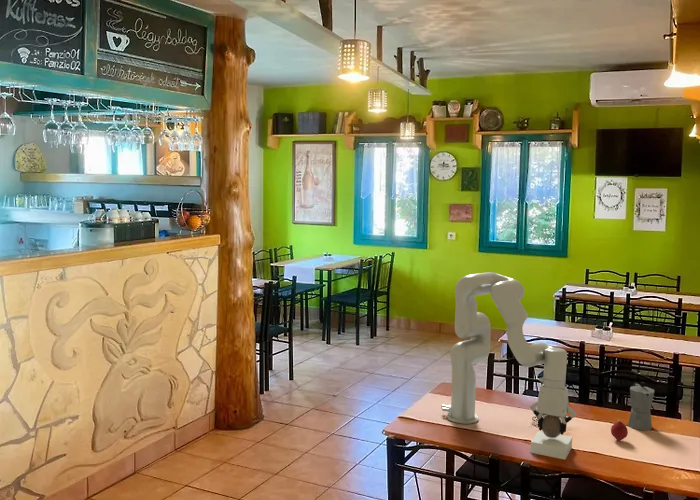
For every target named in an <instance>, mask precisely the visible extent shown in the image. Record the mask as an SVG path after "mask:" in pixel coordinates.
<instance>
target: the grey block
mask: <svg viewBox="0 0 700 500" xmlns="http://www.w3.org/2000/svg"><path fill="white" fill-rule="evenodd" d="M572 448H573V437H572V436H569V435H564V434H563V435H561V434H560V435H559V436H558V437H556V438H550V437H547V436H546V435H545V434H544V433H543V431H542V430H541V431H540V430H538V431H537V432H536V434H534V437H532V439H531V441H530V451H529V453H531V454H536V455H541V456H546V457H550V458H553V459H559V460H566V459H567V458H568V455H570V454H569V453H570V452H571V450H572Z"/></svg>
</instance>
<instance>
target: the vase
mask: <svg viewBox="0 0 700 500" xmlns="http://www.w3.org/2000/svg"><path fill="white" fill-rule="evenodd" d="M561 423H562V420H561V417H556V416H551V415H545V416H544V417H543V421H542V430H541V431H543V433H544V434H545V435H546V436H547V437H550V438H556V437H558V436H559V435H561Z"/></svg>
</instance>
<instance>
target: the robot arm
mask: <svg viewBox="0 0 700 500" xmlns="http://www.w3.org/2000/svg"><path fill="white" fill-rule="evenodd" d="M483 295H484V296H485V295H490V297H491V299H492V301H493V303H494V304H495V306H496V308H497V309H498V311H499V313H500V315H501V317H502V318H503V321H504V323H505V324H506V328H507V329H506V336H507V344H508V346H509V348H510V351H511V353H512V354H513V356H514V358H515V359H516V361H517V362H518V364H520V365H521V366H522V367H525V368H531V367H535V366H539V365H543V364H544V365H543V376H542V377H541V376H540V377H539V379H538V381H539V382H540V383H541V384H540V386H539V390H538V397H537V401H535V402H533V403H532V404H531V405H530V406H529V408H530V410H531V411H532V412H533V414H534V415H535V417H536V418H537V427H538V431H542V421H543V419H544V417H543V415H545V416H546V415H551V416H556V417H559V418H560V420H561V433H560V435H564V433H566V432H567V423H569V422H570V421H571V420H573V418H575V417H576V416H577V412H575V411H574V409H573V408H572V407H571V406H570V405H569V392H568V388H567V386H566V379H567V377H566V376H567V361H568V353H567V350H566V349H564V348H561V347H557V346H556V347H554V346H552V345H549V344H547V343H545V342H535V343H532V344H529V343H528V341H527V340H526V338H525V337H526V336H525V335H524V332H523V331H524V330H523V327H524V324H525V322H526V320H527V319H528V317H529V315H528V312H527V311H526V309H525V307H524V306H523V304H522V303H521V300H522V299H523V298H524V296H525V288H524V286H523V285H522V283H521V282H520V281H519V280H517V279H515V278H512V277H508V276H506V275H502V274H500V273H497V272H491V271H489V272H488V271H487V272H481V273H480V272H477V273H472V274H467V275H465V276H462V277H461V278H459V279H458V281H457V283H456V284H455V287H454V297H455V309H454V310H455V311H454V312H455V314H454V315H455V316H454V332H455V335H456V336H457V337H458V338H459V339H464V340H463V341H458V342H456V343H455V344H454V345H453V346H452V347H451V348H450V352H449V354H450V355H449V357H450V364H451V394H450V395H451V396H450V397H451V398H450V404H449V405H448V404H444V403H443V404H441V410H442V411H443V412H447V414H446V419H447V420H449V421H450V422H452V423H455V424H456V423H457V424H463V425H464V424H465V425H467V424H475V423H477V422H478V421H479V416H478V414H477V413H476V412H475V411H476V389H477V388H476V383H477V380H476V379H477V374H476V371H475V369H474V365H473V364H477V363H481V362H483V361H485V360H487V358H488V357H489V355H490V353H491V352H490V350H491V349H490V348H491V333H492V332H491V329H492V328H491V327H492V326H491V322H490V319H489V317H488V316H487V315H486V314H485V313H483V312H480V311H478V303H477V299H476V297H477V296H483ZM465 339H466V340H465ZM467 339H468V340H467ZM536 407H537V408H536ZM568 413H569V414H570V415H568V416H567V414H568Z"/></svg>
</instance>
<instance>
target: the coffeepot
mask: <svg viewBox="0 0 700 500" xmlns="http://www.w3.org/2000/svg"><path fill="white" fill-rule="evenodd" d="M645 384H646V382H644V381H641V382H640V384H639V383H638V382H634V383H633V384H632V386H630V388H629V394H630V404H631V410H630V413H629V418H628V422H627V427H629V428H631V429H633V430H638V431H646V432H647V431H650V430H652V428H653V423H652V415H651V408H652V403H653V400H654V396H655V389H654V388H651V387H648V386H645Z"/></svg>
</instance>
